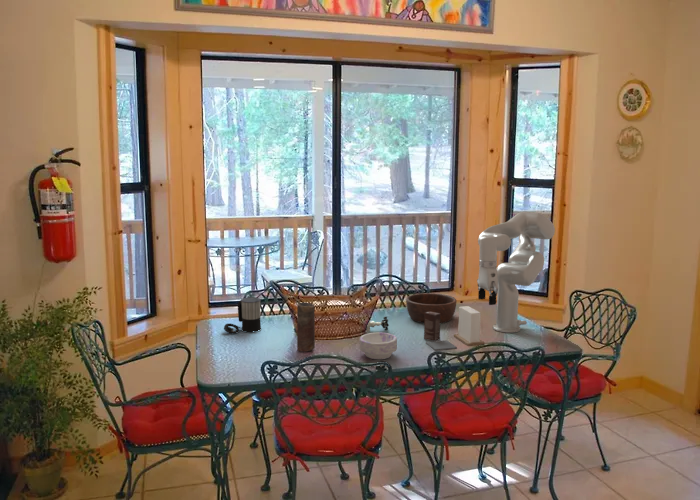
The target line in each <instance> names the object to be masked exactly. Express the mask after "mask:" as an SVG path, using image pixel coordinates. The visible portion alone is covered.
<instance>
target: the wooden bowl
mask: <svg viewBox="0 0 700 500" xmlns="http://www.w3.org/2000/svg"><path fill="white" fill-rule="evenodd" d="M405 301H406V309H407V314H408V315H409V317H410V319H411V320H413V321H415V322H416V323H417V322H418V323H424V317H425V313H426V312H435V313H440V324H443V323H447V322H449V321H451V320H452V318H453V317H454V315H455V312H456V309H457V298H455V297H453V296H451V295H448V294H443V293H433V292H432V293H431V292H430V293H429V292H426V293H415V294H411V295H409V296H406V299H405Z"/></svg>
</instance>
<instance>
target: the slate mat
mask: <svg viewBox="0 0 700 500" xmlns="http://www.w3.org/2000/svg"><path fill="white" fill-rule="evenodd" d="M425 344H426V345H427V346H428V347H429V348H431V349H433V351H446V350H455V349H457V346H456V345H455V344H452V343H451V341H449V340H447V339H446V340H437V341H425Z"/></svg>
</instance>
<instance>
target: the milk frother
mask: <svg viewBox="0 0 700 500" xmlns="http://www.w3.org/2000/svg"><path fill="white" fill-rule="evenodd" d="M261 299H262V298H259V297H254V296H253V297H252V296H251V297H249V296H247V297H244V298H241V299H240V300H239V301H238V302H237V315H238V316H237V317H238V321H239V322H240V323H241V326H238V325H236V324H233V323H225V325H224V326H223V330H224V331H225V332H226V333H227V334H232V333H233V334H237V333H236V332H238V331H239V332H240V329H241V331H242V330H243V331H246V332H245V333H254V332H253V331H258V330H260V329H261V330H262V325H261V301H262V300H261ZM234 328H235V330H234ZM261 330H260V331H261ZM243 331H242V332H243ZM239 332H238V333H239ZM258 332H259V331H258Z"/></svg>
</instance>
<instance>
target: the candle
mask: <svg viewBox="0 0 700 500" xmlns="http://www.w3.org/2000/svg"><path fill="white" fill-rule="evenodd" d="M296 306H297V307H296V308H297V314H296V315H297V317H296V319H297V326H296V327H297V328H296V329H297V333H296V335H297V338H296V339H297V341H296V342H297V343H296V345H297V346H296V347H297V351H298V352H305V353H306V352H311V351H314V349H315V347H316V344H315V343H316V340H315V339H316V338H315V337H316V335H315V328H316V327H315V326H316V324H315V320H316V319H315V304H313V303H309V302H306V301H305V302H298V303H297V305H296Z"/></svg>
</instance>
